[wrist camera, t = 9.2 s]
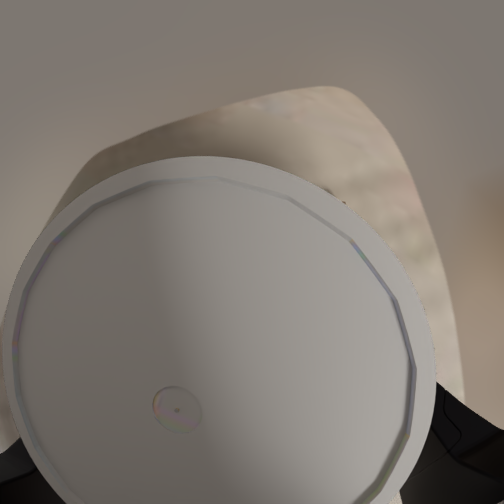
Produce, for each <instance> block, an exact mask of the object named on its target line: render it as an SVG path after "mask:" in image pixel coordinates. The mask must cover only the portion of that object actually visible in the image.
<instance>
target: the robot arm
mask: <svg viewBox="0 0 504 504" xmlns="http://www.w3.org/2000/svg"><path fill="white" fill-rule="evenodd" d="M399 492H400V496H401V500H402V504H504V430H502V429H500V428H498V427H496V426H494V425H493V424H491V423H490V422H488V421H487V420H485V419H484V418H482V417H481V416H479V415H478V414H476V413H475V412H474V411H472V410H471V409H469V408H468V407H467V406H465V405H464V404H463V403H461V402H460V401H459V400H458V399H456V398H455V397H454V396H453V395H452V394H450V393H449V392H448V391H447V390H445V388H443V387H442V386H441V385H440V384H439V383H438V382H436V394H435V404H434V410H433V416H432V420H431V425H430V428H429V432H428V435H427V438H426V441H425V444H424V446H423V449H422V451H421V454H420V456H419V458H418V460H417V462H416V464H415V466H414V468H413V470H412V472H411V473H410V475H409V477H408V478H407V480H406V482H405V483H404V484H403V486H402V487H401V489H400V490H399ZM0 504H66V503H65V502H64V501H63V499H62V498H61V497H60V496H59V495H58V494H57V493H56V492H55V491H54V489H53V488H52V487H51V486H50V484H49V483H48V482H47V481H46V479H45V478H44V476H43V475H42V474H41V472H40V471H39V469H38V468H37V466H36V465H35V463H34V461H33V460H32V458H31V456H30V455H29V453H28V451H27V449H26V447H25V445H24V443H23V441H22V439H21V437H20V438H19V439H18V440H17V441H16V442H15V443H14V444H12V445H11V446H10V447H9V448H8V449H7V450H6V451H5V452H3V453H1V454H0Z"/></svg>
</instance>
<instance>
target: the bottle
mask: <svg viewBox="0 0 504 504" xmlns="http://www.w3.org/2000/svg"><path fill="white" fill-rule="evenodd" d="M2 362H3V374H4V382H5V388H6V393H7V398H8V402H9V405H10V409H11V412H12V416H13V419H14V421H15V424H16V427H17V429H18V432H19V434H20V436H21V439H22V441H23V443H24V445H25V447H26V449H27V451H28V453H29V455H30V456H31V458H32V460H33V461H34V463H35V465H36V466H37V468H38V469H39V471H40V472H41V474H42V475H43V476H44V478H45V479H46V481H47V482H48V483H49V484H50V486H51V487H52V488H53V489H54V491H55V492H56V493H57V494H58V495H59V496H60V497H61V498H62V499H63V501H64V502H65V503H66V504H389V503H390V501H391V500H392V499H393V498H394V497H395V495H396V494H397V493H398V492H399V490H400V489H401V487H402V486H403V484H404V483H405V482H406V480H407V478H408V477H409V475H410V473H411V472H412V470H413V468H414V466H415V464H416V462H417V460H418V458H419V456H420V454H421V451H422V449H423V446H424V444H425V441H426V438H427V435H428V432H429V428H430V425H431V420H432V416H433V410H434V404H435V394H436V361H435V352H434V345H433V340H432V335H431V331H430V327H429V323H428V320H427V317H426V314H425V311H424V308H423V305H422V303H421V300H420V298H419V295H418V293H417V291H416V289H415V287H414V285H413V283H412V281H411V279H410V277H409V276H408V274H407V272H406V271H405V269H404V267H403V266H402V264H401V263H400V261H399V260H398V258H397V257H396V255H395V254H394V253H393V251H392V250H391V249H390V248H389V246H388V245H387V244H386V243H385V241H384V240H383V239H382V238H381V237H380V236H379V235H378V233H377V232H376V231H375V230H374V229H373V228H372V227H371V226H370V225H369V224H368V223H367V222H366V221H365V220H363V219H362V218H361V217H360V216H359V215H358V214H357V213H356V212H354V211H353V210H352V209H351V208H349V207H348V206H347V205H345V204H344V203H343V202H341V201H340V200H338V199H337V198H336V197H334V196H333V195H331V194H330V193H328V192H326V191H325V190H323V189H321V188H320V187H318V186H316V185H314V184H312V183H310V182H308V181H306V180H304V179H302V178H300V177H298V176H295V175H293V174H291V173H288V172H285V171H283V170H280V169H277V168H274V167H271V166H268V165H264V164H260V163H256V162H252V161H247V160H242V159H236V158H228V157H217V156H188V157H177V158H169V159H164V160H158V161H154V162H150V163H146V164H142V165H139V166H136V167H133V168H130V169H127V170H125V171H122V172H120V173H118V174H115V175H113V176H111V177H109V178H107V179H105V180H103V181H101V182H100V183H98V184H96V185H94V186H93V187H91V188H90V189H88V190H87V191H85V192H84V193H82V194H81V195H80V196H78V197H77V198H76V199H74V200H73V201H72V202H71V203H69V204H68V205H67V206H66V207H65V208H64V209H63V210H62V211H61V212H60V213H59V214H58V215H57V216H56V217H55V218H54V219H53V220H52V221H51V222H50V223H49V224H48V226H47V227H46V228H45V229H44V230H43V232H42V233H41V234H40V236H39V237H38V238H37V240H36V241H35V243H34V244H33V246H32V247H31V249H30V251H29V253H28V254H27V256H26V258H25V260H24V262H23V264H22V266H21V268H20V270H19V272H18V274H17V277H16V279H15V282H14V285H13V288H12V291H11V294H10V297H9V301H8V305H7V310H6V315H5V321H4V328H3V340H2Z"/></svg>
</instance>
